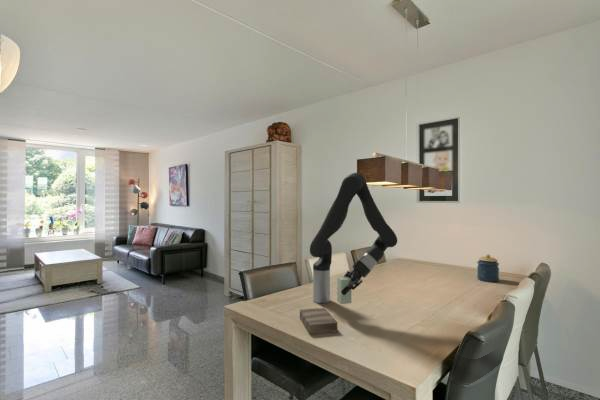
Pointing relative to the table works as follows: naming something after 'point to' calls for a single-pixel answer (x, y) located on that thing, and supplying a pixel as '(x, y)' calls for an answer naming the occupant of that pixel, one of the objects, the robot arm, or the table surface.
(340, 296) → the sage block
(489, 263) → the canister
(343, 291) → the robot arm
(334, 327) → the walnut base
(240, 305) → the table surface
